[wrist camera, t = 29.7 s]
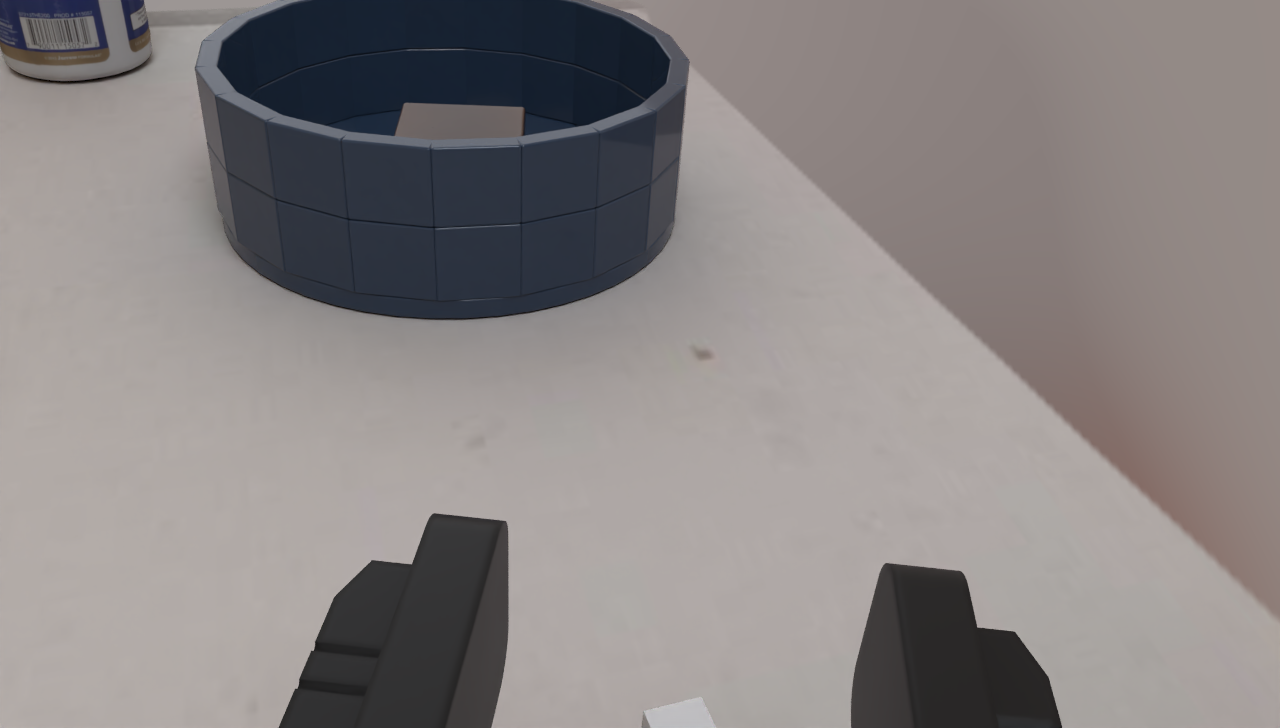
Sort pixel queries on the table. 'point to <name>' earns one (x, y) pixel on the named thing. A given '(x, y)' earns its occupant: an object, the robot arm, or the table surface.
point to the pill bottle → (74, 37)
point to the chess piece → (679, 715)
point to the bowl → (443, 150)
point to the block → (459, 121)
